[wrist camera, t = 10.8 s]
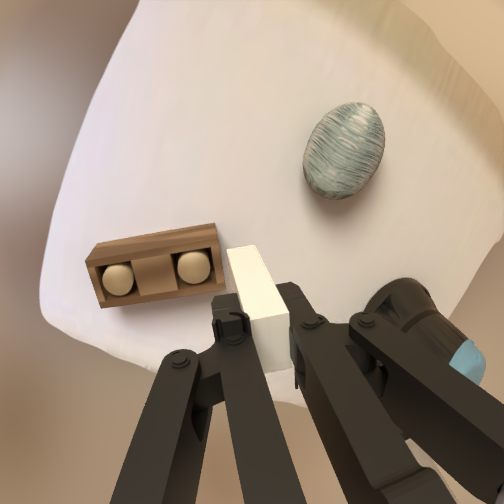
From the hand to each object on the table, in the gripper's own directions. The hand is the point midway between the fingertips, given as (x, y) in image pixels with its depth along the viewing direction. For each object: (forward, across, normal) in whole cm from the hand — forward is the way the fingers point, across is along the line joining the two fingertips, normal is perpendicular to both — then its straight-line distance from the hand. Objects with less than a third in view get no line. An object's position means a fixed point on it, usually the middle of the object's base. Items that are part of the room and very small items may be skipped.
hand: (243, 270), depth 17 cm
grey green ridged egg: (+27, -17, -3) cm, 32 cm away
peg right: (+26, +4, +9) cm, 28 cm away
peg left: (+25, +14, +9) cm, 30 cm away
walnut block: (+26, +9, +9) cm, 29 cm away
